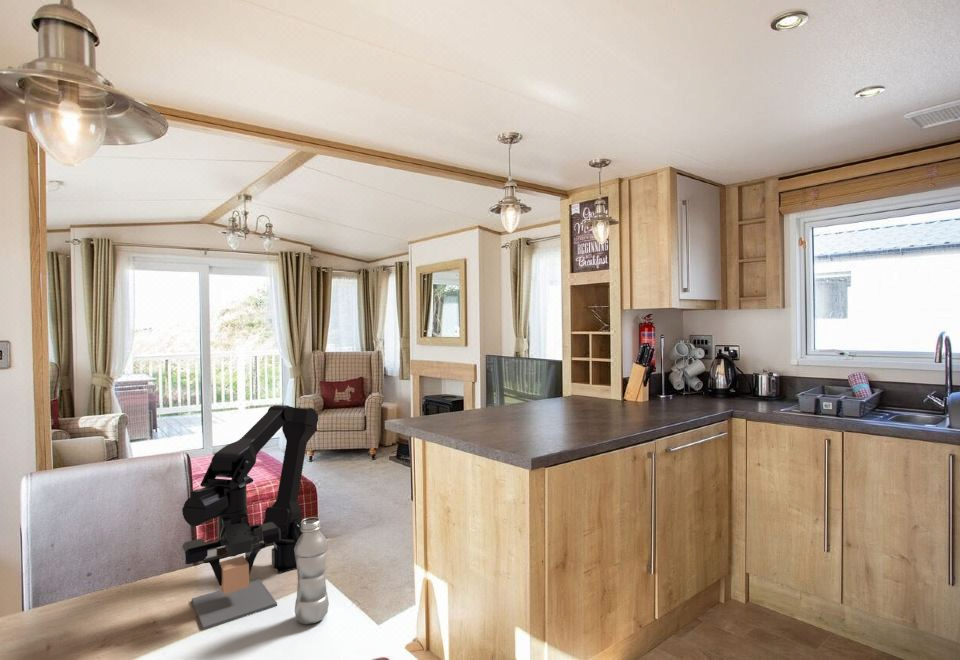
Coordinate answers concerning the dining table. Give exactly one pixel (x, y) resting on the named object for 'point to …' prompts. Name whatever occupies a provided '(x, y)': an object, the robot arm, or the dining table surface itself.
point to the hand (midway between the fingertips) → (233, 581)
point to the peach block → (234, 574)
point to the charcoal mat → (232, 604)
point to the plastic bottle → (311, 573)
